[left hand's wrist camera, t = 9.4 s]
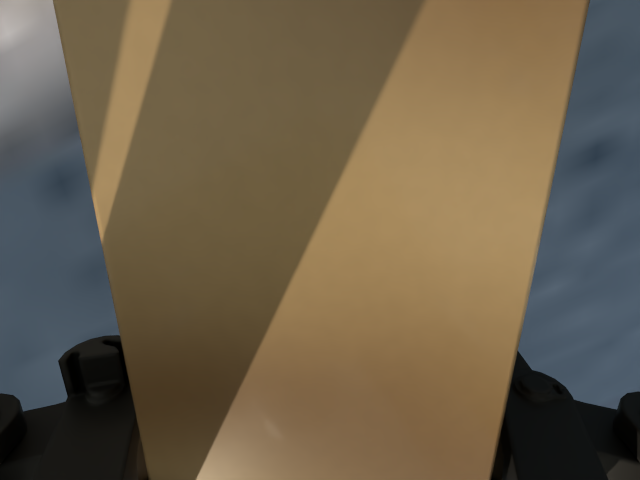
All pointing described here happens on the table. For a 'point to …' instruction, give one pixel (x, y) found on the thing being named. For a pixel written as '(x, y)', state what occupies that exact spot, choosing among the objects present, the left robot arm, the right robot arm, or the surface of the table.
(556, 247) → the table surface
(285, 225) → the ash beam
